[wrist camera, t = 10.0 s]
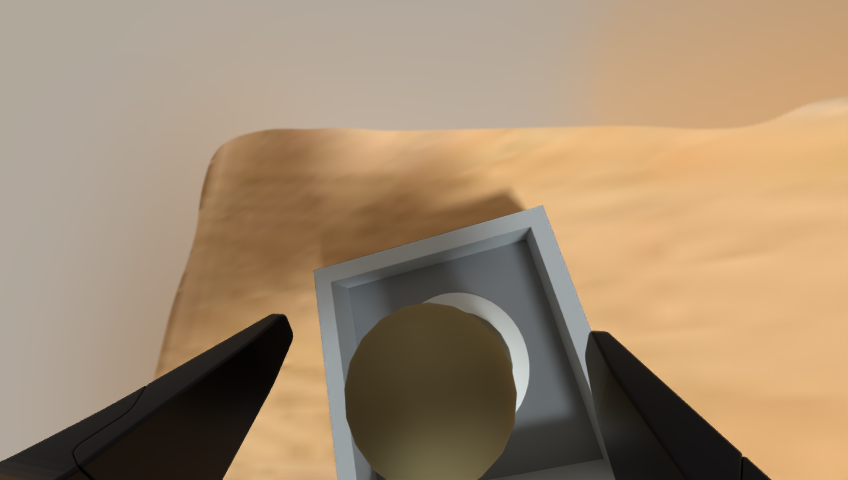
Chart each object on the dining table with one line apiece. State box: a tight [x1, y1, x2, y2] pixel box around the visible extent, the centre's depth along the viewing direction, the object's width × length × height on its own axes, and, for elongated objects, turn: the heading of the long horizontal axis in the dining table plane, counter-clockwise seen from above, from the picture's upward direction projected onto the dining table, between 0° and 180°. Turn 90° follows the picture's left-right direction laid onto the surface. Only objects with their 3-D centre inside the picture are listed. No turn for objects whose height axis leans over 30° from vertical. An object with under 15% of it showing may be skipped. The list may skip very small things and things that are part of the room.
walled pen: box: [314, 205, 615, 480], centre depth 18 cm, size 14×14×3 cm
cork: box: [344, 302, 517, 480], centre depth 13 cm, size 6×6×11 cm
